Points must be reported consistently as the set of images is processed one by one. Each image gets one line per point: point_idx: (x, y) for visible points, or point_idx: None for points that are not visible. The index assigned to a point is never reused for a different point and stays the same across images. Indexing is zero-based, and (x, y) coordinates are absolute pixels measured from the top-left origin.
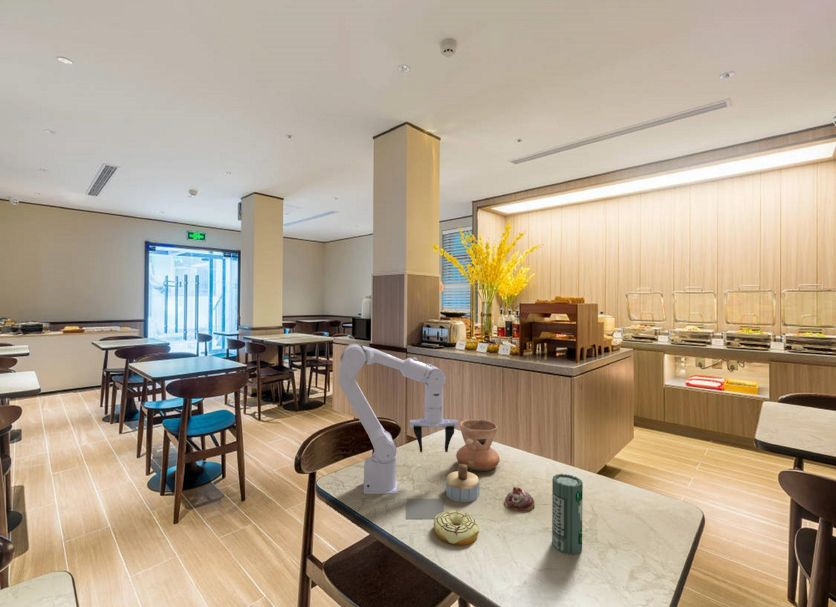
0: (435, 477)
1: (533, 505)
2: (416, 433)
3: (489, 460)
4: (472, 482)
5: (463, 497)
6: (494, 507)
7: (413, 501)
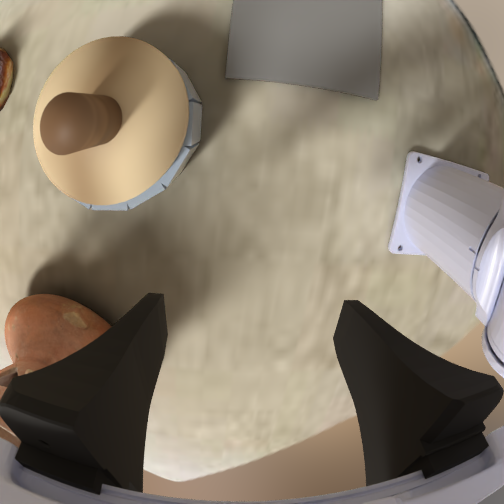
0: (230, 277)
1: None
2: (483, 379)
3: (16, 314)
4: (63, 76)
5: None
6: (45, 49)
7: (354, 72)
